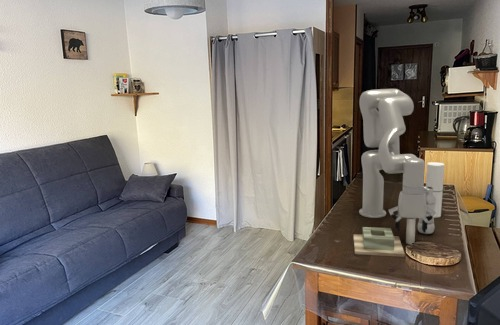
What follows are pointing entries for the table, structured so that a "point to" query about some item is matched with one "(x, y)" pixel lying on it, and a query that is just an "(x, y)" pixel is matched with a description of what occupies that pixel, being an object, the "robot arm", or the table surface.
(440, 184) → the cylindrical container
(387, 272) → the table surface
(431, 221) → the plastic bottle
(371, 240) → the socket
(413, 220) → the peg
